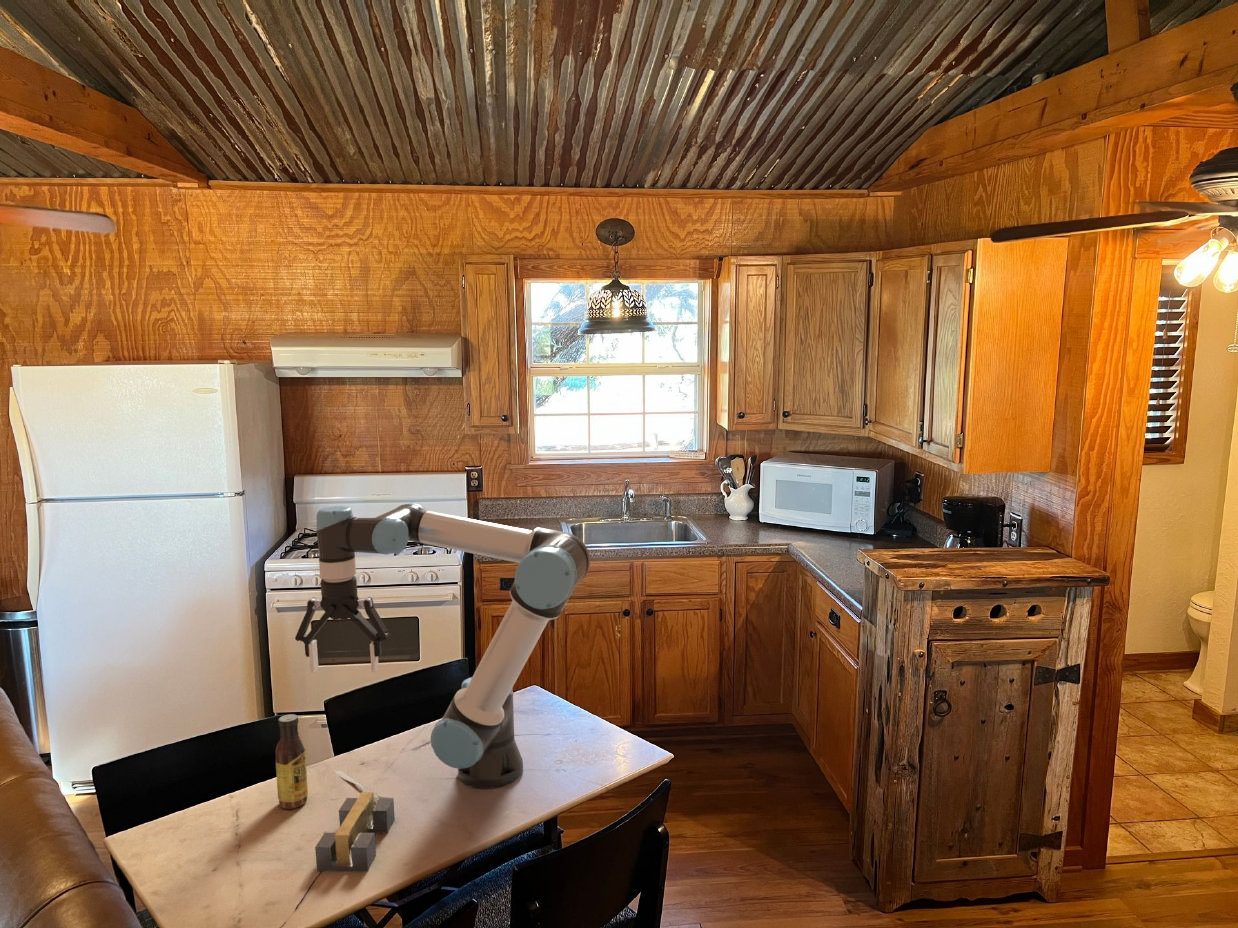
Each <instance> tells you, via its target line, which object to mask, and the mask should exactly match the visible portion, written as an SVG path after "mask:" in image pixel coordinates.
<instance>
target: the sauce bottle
mask: <svg viewBox="0 0 1238 928" xmlns="http://www.w3.org/2000/svg"><path fill="white" fill-rule="evenodd" d="M277 721H278V727H279V738H280V739H279V741H278V742H277V745H276V747H275V770H276V771H275V772H276V786H277V787H276V789H277V799H278V803H279V806H280V808H282V809H285V810H287V809H288V810H293V809H296V808H300V807H301V806H303V805H305V804H306V803H307V801H308V795H309V789H308V787H309V786H308V770H307V757H306V756H307V755H306V754H307V753H306V749H305V745H304V743H303V741H302V739H301V737H300V735H299V734H300V733H299V727H298V726H299V725H298V723H299V716H298V715H296V714H293V713H292V714H291V713H290V714H285V715H281V716H280V717H279V718H278V719H277Z"/></svg>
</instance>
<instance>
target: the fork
mask: <svg viewBox="0 0 1238 928" xmlns="http://www.w3.org/2000/svg"><path fill="white" fill-rule="evenodd" d="M334 774H335V775H336V776H337V777H339V778H341V779H342V780H345V781H346V782H349V783H351V784H352V785H356V786H357V787H359V788H360V790H361V792H372V791H371V790H368V789H367V788H366V787H364V786H363V785H362V784H361V783H358V782H357V781H356V780H354V779H353V778H351V777H350V776H348V775H347V774H346V773H345V772H343V771H340V770H336V771H335V773H334ZM379 798H388V797H387V796H383V795H380V794H379V793H378V794H375V795H374V803H377V801H378V800H379Z"/></svg>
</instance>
